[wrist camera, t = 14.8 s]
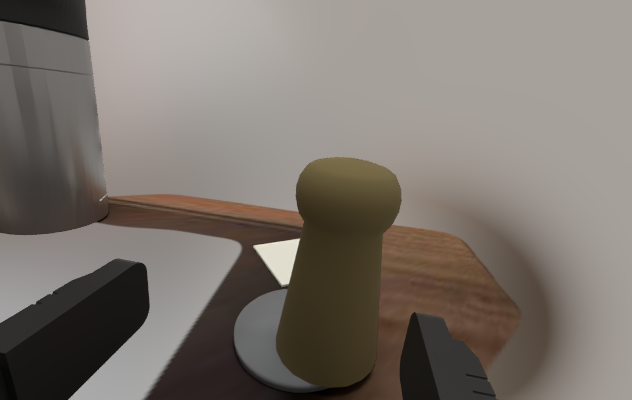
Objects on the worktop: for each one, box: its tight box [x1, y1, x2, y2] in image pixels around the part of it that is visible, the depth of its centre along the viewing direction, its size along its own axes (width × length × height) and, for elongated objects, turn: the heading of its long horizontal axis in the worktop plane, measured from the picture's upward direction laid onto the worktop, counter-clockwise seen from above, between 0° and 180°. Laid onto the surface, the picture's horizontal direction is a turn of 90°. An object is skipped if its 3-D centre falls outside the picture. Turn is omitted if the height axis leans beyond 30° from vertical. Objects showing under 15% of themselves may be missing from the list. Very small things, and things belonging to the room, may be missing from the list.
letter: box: [253, 239, 300, 287], centre depth 29 cm, size 10×7×1 cm
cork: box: [276, 157, 401, 388], centre depth 16 cm, size 6×6×11 cm
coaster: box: [234, 289, 327, 393], centre depth 19 cm, size 8×8×1 cm
